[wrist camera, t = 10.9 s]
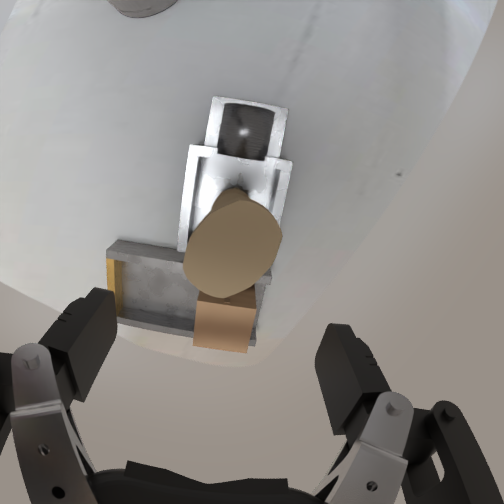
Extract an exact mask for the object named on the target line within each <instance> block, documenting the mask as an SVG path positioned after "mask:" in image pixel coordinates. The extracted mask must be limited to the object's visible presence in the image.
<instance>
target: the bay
mask: <svg viewBox="0 0 504 504" xmlns="http://www.w3.org/2000/svg"><path fill="white" fill-rule="evenodd" d="M184 256H185V252H179V251H177V249H171V248H164V247H158V246H152V245H146V244H140V243H134V242H128V241H122V240H117V241H116V242H115V243H113V244H112V245H111V246H110V247H109V248H108V249H107V250H106V263H107V286H108V290H111V291H113V292H114V294H115V303H116V315H117V323H120V324H124V325H129V326H133V327H138V328H143V329H147V330H152V331H157V332H163V333H168V334H173V335H179V336H185V337H191V338H193V337H194V326H195V316H196V306H197V299H198V295H199V291H200V290H199V289H197V288H196V287H195V286H194V285H193V284H192V283H191V282H190V281H189V280H188V279H187V277H186V275H185V273H184V271H183V268H182V267H183V261H184ZM271 279H272V275H271V271H270V268H269V269H268V270H267V271H266V272H265V273H264V274H263V275H262V277H261V278H260V279H259V280H258V281H257V282H256V283H254V285H255V296H256V307H257V310H256V314H255V319H254V323H253V327H252V332H251V336H250V340H249V345H248V346H255V344H256V325H257V321H258V316H259V312H260V308H261V304H262V299H263V295H264V291H265V286H266V284H267V285H270V283H271Z"/></svg>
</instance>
